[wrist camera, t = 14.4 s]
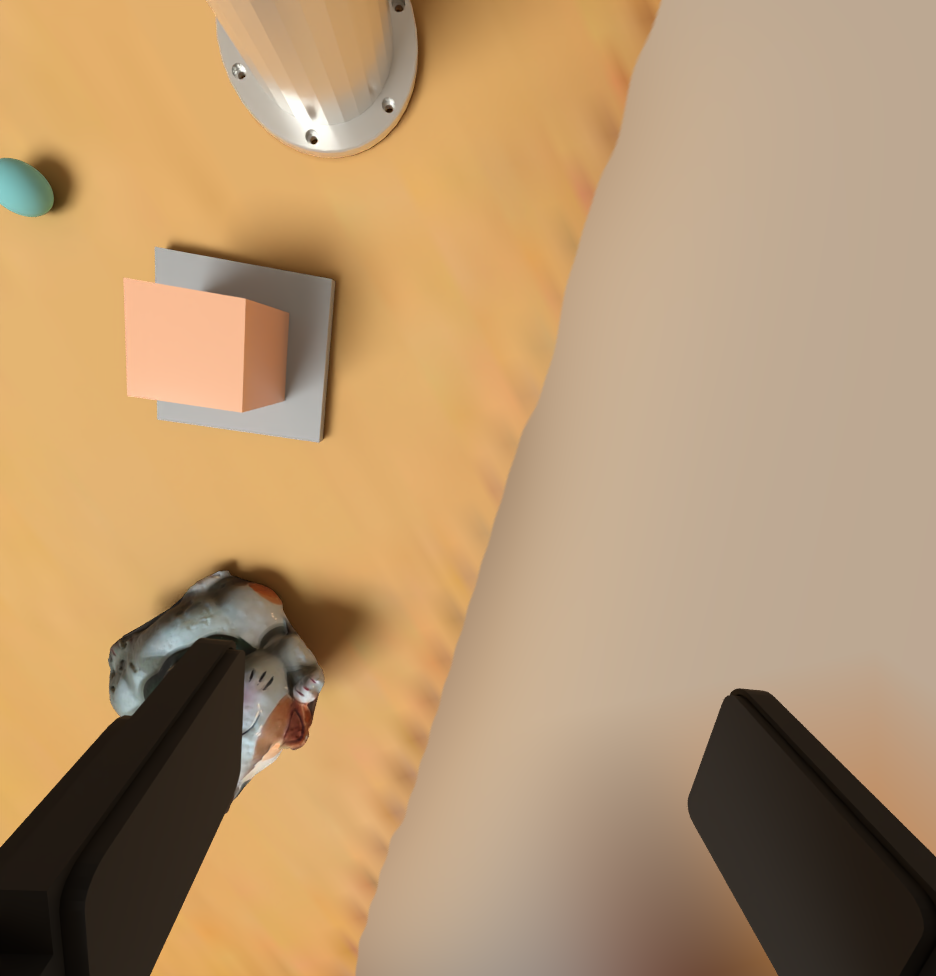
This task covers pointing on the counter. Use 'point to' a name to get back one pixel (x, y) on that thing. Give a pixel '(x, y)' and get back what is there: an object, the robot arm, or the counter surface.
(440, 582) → the counter surface
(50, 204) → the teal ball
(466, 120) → the counter surface
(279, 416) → the slate board
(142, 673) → the lucky cat figurine
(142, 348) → the peach rectangular block
